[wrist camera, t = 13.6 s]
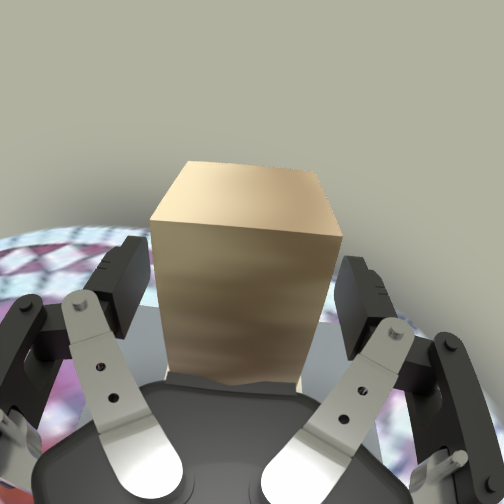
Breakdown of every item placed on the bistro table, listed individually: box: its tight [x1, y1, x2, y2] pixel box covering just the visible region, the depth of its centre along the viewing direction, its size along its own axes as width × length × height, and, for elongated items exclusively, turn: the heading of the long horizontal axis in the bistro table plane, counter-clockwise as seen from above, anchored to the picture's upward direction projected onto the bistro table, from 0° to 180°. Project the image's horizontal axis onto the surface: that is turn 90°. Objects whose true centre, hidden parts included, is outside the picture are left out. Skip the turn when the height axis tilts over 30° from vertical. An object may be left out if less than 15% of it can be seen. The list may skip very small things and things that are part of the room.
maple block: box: [150, 161, 343, 387], centre depth 12 cm, size 4×4×12 cm
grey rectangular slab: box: [75, 305, 383, 464], centre depth 16 cm, size 16×14×2 cm
